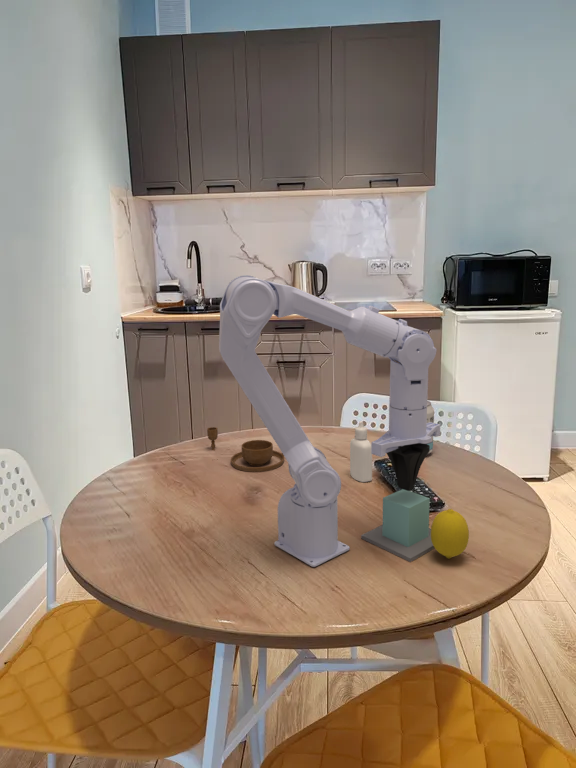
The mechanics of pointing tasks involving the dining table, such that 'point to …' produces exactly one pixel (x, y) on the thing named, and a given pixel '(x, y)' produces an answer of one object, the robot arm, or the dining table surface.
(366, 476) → the eye dropper bottle
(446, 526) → the lemon
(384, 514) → the upright teal cuboid
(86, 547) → the dining table surface
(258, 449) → the place setting
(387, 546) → the base
